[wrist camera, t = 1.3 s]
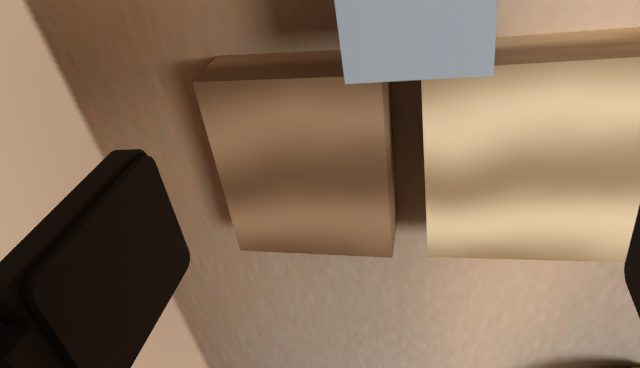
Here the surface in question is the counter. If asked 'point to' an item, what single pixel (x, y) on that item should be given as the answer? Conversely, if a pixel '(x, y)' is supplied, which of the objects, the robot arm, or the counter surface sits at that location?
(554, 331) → the counter surface
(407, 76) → the grey block
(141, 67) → the counter surface
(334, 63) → the walnut plinth
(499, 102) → the maple plinth
